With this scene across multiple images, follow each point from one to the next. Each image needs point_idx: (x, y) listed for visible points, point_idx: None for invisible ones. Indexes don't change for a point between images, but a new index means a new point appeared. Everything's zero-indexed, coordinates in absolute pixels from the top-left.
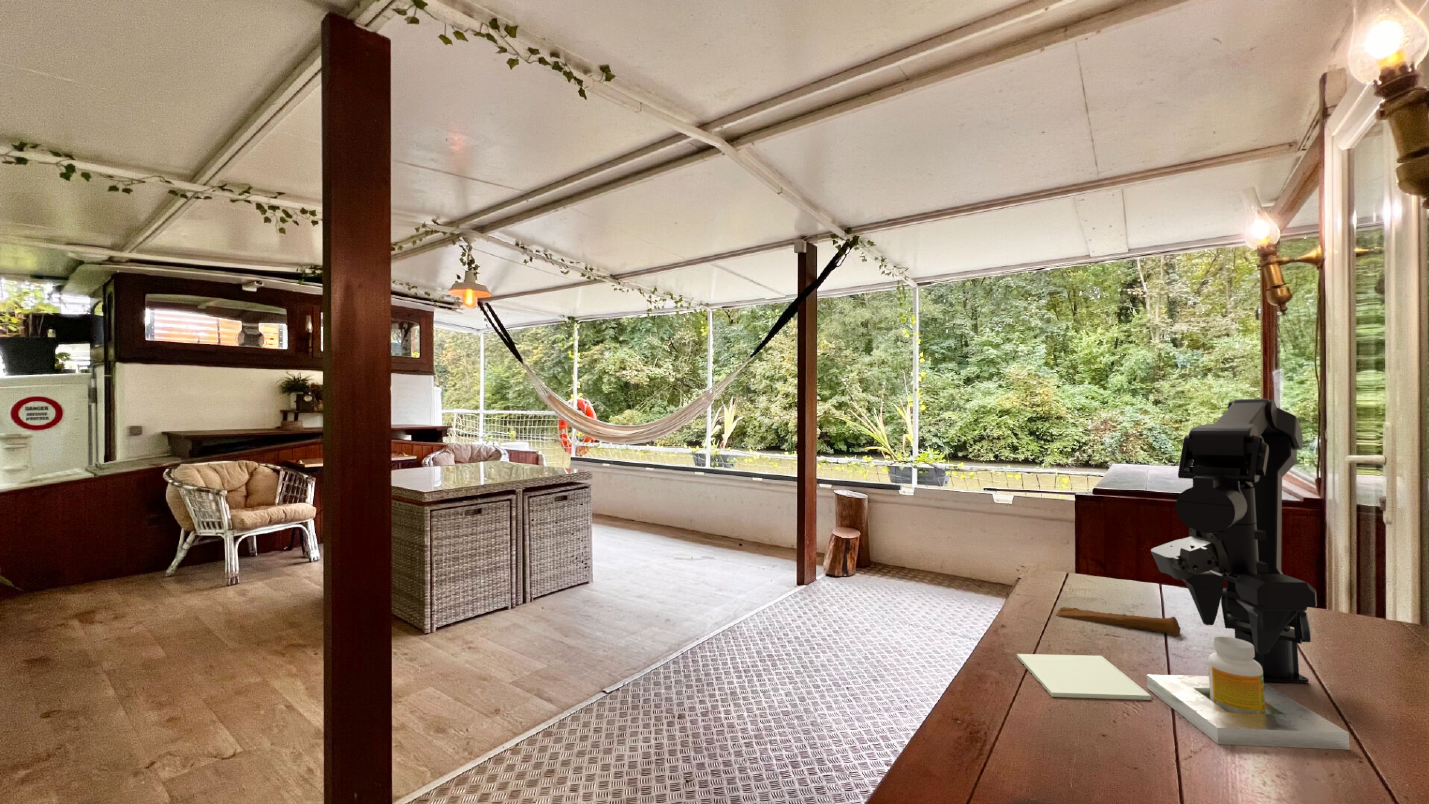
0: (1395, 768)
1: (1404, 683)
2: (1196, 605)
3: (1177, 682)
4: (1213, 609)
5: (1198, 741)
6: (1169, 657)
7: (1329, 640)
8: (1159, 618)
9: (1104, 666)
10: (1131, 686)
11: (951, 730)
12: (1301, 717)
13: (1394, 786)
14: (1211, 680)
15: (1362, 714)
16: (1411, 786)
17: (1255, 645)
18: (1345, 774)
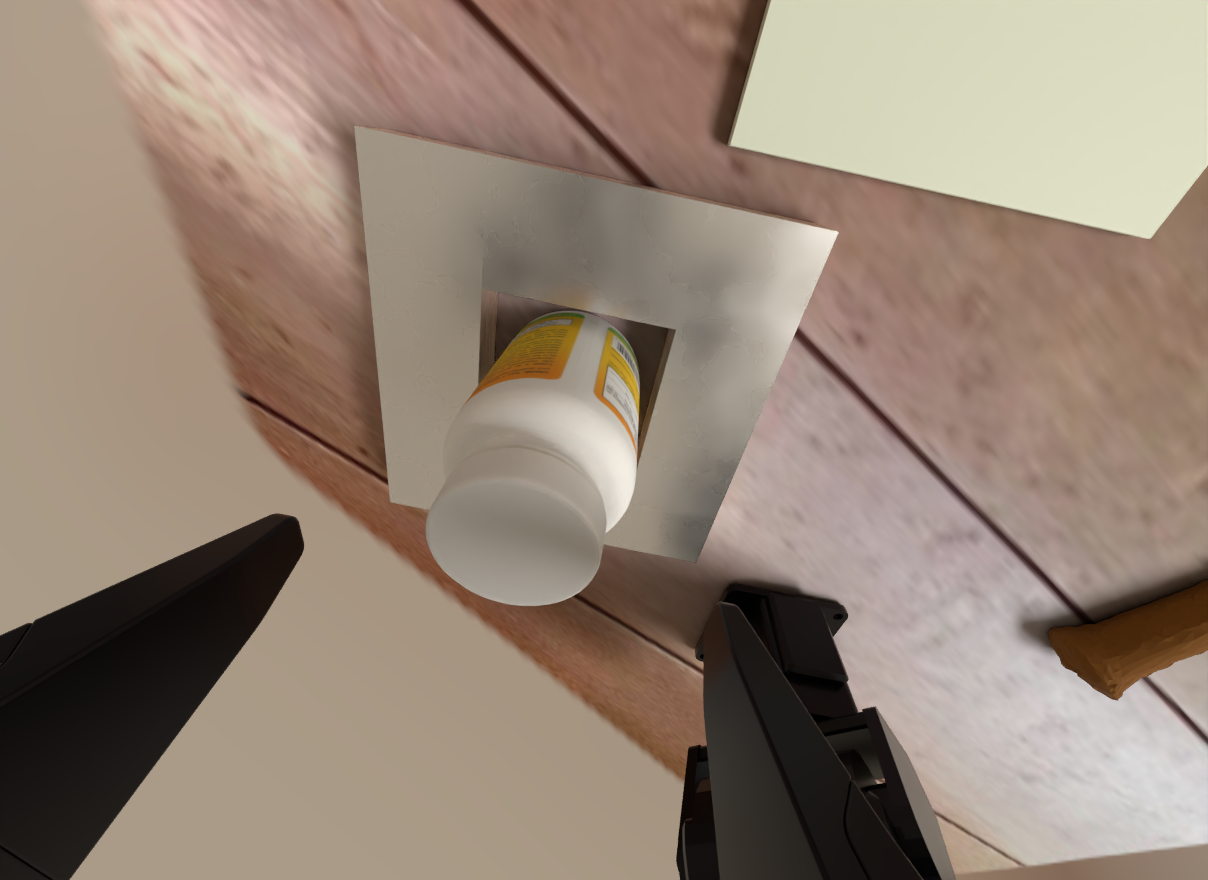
0: (347, 487)
1: (658, 749)
2: (800, 718)
3: (728, 307)
4: (717, 739)
5: (402, 59)
6: (962, 506)
7: None
8: (1153, 667)
9: (1060, 152)
10: (831, 118)
11: None
12: None
13: (267, 422)
14: (579, 355)
15: (560, 617)
16: (278, 452)
17: (247, 536)
18: (292, 368)
